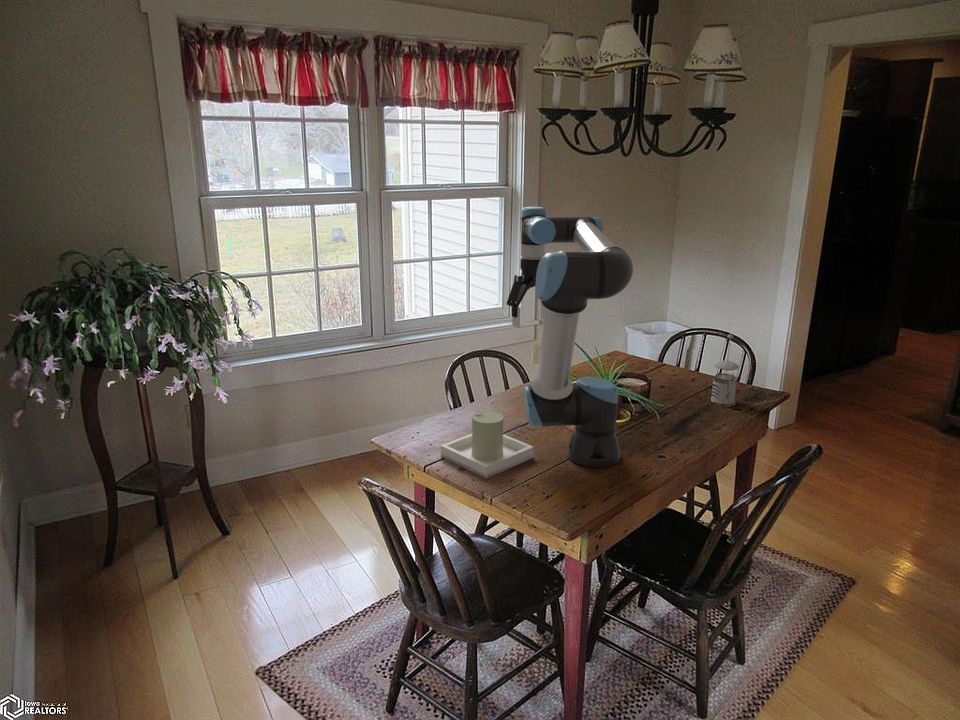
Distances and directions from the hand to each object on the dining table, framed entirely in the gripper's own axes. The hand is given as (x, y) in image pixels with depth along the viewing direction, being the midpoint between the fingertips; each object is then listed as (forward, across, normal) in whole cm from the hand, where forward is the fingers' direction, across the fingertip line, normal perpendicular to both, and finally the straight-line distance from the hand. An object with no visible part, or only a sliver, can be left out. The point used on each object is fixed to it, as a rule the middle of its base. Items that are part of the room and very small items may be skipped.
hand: (530, 323), depth 221 cm
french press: (+32, -58, +40) cm, 77 cm away
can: (+31, +33, +14) cm, 47 cm away
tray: (+32, +33, +14) cm, 48 cm away
